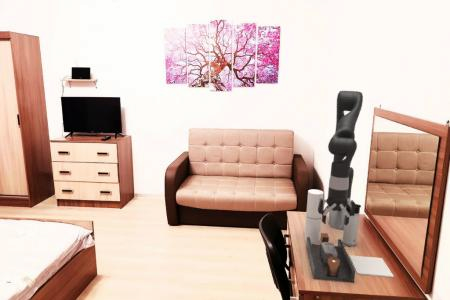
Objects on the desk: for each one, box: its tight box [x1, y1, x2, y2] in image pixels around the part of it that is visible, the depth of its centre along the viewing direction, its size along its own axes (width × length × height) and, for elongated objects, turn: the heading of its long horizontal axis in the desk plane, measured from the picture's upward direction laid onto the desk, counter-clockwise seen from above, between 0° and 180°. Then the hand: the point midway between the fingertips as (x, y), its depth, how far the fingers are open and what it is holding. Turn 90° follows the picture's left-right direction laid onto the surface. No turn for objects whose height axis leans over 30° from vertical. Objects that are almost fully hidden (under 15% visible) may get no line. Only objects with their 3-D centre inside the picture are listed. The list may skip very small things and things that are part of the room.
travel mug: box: [341, 203, 362, 247], centre depth 156 cm, size 6×7×20 cm
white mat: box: [348, 255, 395, 278], centre depth 139 cm, size 14×14×1 cm
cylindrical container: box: [304, 189, 324, 244], centre depth 159 cm, size 7×7×25 cm
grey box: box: [321, 241, 337, 262], centre depth 140 cm, size 9×5×5 cm, turn 173°
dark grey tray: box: [305, 232, 356, 283], centre depth 141 cm, size 26×15×8 cm, turn 173°
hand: (334, 224), depth 136 cm, fingers open, 8 cm apart
